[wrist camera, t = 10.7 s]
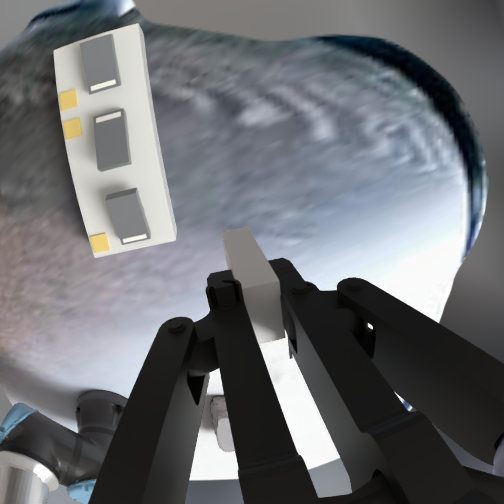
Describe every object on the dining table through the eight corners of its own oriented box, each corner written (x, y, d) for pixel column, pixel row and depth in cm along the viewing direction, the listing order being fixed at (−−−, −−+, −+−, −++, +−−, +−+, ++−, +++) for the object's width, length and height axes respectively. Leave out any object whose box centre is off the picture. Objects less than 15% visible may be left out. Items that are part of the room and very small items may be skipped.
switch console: (101, 245, 45) (91, 261, 40) (64, 57, 33) (49, 49, 28) (176, 229, 47) (175, 243, 41) (143, 33, 35) (137, 21, 29)
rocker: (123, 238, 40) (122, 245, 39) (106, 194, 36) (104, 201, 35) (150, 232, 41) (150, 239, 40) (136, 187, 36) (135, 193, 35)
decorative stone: (242, 385, 62) (196, 398, 61) (249, 409, 55) (200, 423, 54) (257, 422, 68) (217, 433, 67) (265, 444, 62) (222, 456, 60)
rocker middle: (101, 172, 35) (97, 169, 33) (96, 120, 34) (92, 116, 33) (131, 164, 35) (128, 161, 33) (126, 112, 35) (123, 107, 33)
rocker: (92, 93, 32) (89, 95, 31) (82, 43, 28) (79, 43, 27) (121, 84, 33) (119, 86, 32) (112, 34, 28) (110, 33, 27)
